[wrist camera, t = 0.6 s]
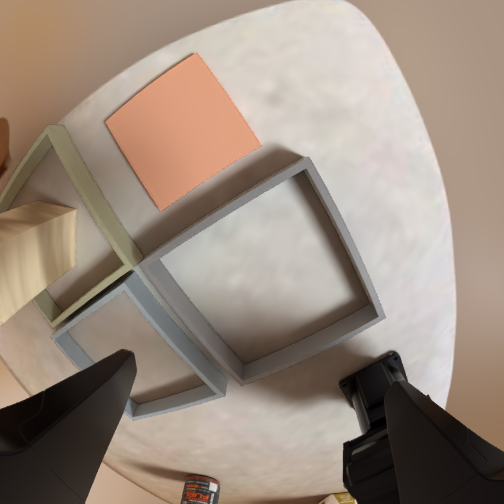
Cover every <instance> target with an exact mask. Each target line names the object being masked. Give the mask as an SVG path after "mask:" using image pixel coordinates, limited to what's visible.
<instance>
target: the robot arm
mask: <svg viewBox="0 0 504 504" xmlns="http://www.w3.org/2000/svg"><path fill="white" fill-rule="evenodd" d="M136 373H137V367H136V361H135V355H134V353H133V352H132V351H129V350H125V349H121V350H119V351H117V352H115V353H113V354H112V355H110V356H108V357H106V358H104V359H102V360H100V361H99V362H97V363H95V364H93V365H91V366H89V367H87V368H86V369H84V370H82V371H80V372H78V373H76V374H74V375H72V376H70V377H68V378H67V379H65V380H63V381H61V382H59V383H57V384H55V385H53V386H51V387H49V388H47V389H45V391H41V392H39V393H37V394H36V395H33V396H31V397H29V398H27V399H25V400H23V401H20V402H18V403H15V404H13V405H10V406H7V407H4V408H1V409H0V504H85V501H86V499H87V497H88V494H89V492H90V489H91V486H92V484H93V482H94V479H95V477H96V474H97V472H98V469H99V467H100V465H101V462H102V460H103V458H104V455H105V453H106V451H107V448H108V446H109V444H110V442H111V439H112V437H113V435H114V433H115V430H116V428H117V426H118V424H119V422H120V419H121V417H122V415H123V413H124V410H125V407H126V404H127V401H128V398H129V395H130V392H131V389H132V386H133V383H134V380H135V377H136ZM339 386H340V389H341V390H342V392H343V393H344V395H345V396H346V398H347V399H348V401H349V402H350V404H351V405H352V407H353V408H354V410H355V411H356V415H357V418H358V422H359V425H360V428H361V432H362V435H361V436H359V437H357V438H355V439H353V440H351V441H347V442H345V443H343V483H344V487H345V488H346V489H347V490H348V492H349V494H350V495H351V496H352V497H353V498H354V499H356V502H357V504H504V452H503V451H502V450H500V449H498V448H497V447H495V446H493V445H492V444H490V443H488V442H487V441H485V440H484V439H482V438H481V437H480V436H478V435H477V434H475V433H474V432H473V431H471V430H470V429H469V428H468V429H467V427H466V426H465V425H463V424H462V423H461V422H460V421H458V420H457V419H455V418H454V417H453V416H452V415H450V414H449V413H447V412H446V411H445V410H444V409H442V408H441V407H440V406H439V405H437V404H436V403H435V402H433V401H432V400H431V398H430V396H429V395H427V396H425V395H424V394H423V393H422V392H420V391H419V390H418V389H416V388H415V387H414V386H412V385H411V384H410V383H409V382H408V380H407V377H406V373H405V370H404V367H403V364H402V361H401V358H400V355H399V354H398V353H397V352H395V353H393V354H391V355H389V356H388V357H386V358H384V359H382V360H380V361H378V362H377V363H375V364H373V365H371V366H369V367H367V368H365V369H363V370H361V371H359V372H357V373H355V374H353V375H351V376H349V377H347V378H345V379H343V380H341V381H340V382H339Z"/></svg>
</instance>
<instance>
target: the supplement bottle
mask: <svg viewBox="0 0 504 504" xmlns="http://www.w3.org/2000/svg"><path fill="white" fill-rule="evenodd" d="M219 492H220V483H219V482H218V481H217V480H215V479H213V478H210V477H206V476H200V475H192V476H188V477H187V478H186V481H185V485H184V490H183V495H182V499H181V504H218V499H219Z"/></svg>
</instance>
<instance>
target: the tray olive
mask: <svg viewBox="0 0 504 504" xmlns="http://www.w3.org/2000/svg"><path fill="white" fill-rule="evenodd" d="M52 145H53V147H54V149H55V151H56V153H57V155H58V157H59V159H60V161H61V163H62V165H63V167H64V168H65V170H66V172H67V174H68V176H69V178H70V179H71V181H72V183H73V185H74V187H75V188H76V190H77V192H78V194H79V195H80V197H81V199H82V200H83V202H84V204H85V205H86V207H87V209H88V210H89V212H90V214H91V215H92V217H93V218H94V220H95V222H96V223H97V225H98V226H99V228H100V229H101V231H102V233H103V234H104V236H105V237H106V239H107V240H108V242H109V243H110V245H111V246H112V248H113V249H114V250H115V252H116V253H117V255H118V256H119V258H120V259H121V260H122V262H123V263H124V264H123V265H122V266H120V267H119V268H118V269H116V270H115V271H114V272H112V273H111V274H110V275H108V276H107V277H106V278H104V279H103V280H102V281H101V282H99V283H98V284H97V285H95V286H94V287H93V288H92V289H90V290H89V291H88V292H87V293H85V294H84V295H83V296H82V297H80V298H79V299H78V300H77V301H75V302H74V303H73V304H72V305H70V306H69V307H68V308H67V309H66V310H64V311H63V312H61V311H60V309H59V308H58V307H57V305H56V304H55V303H54V301H53V300H52V298H51V297H50V296H49V294H48V293H47V291H46V290H45V289H44V290H43V291H41V292H40V293H39V294H38V295H36V296H35V297H34V298H33V299H31V300H32V301H33V303H34V304H35V305H36V307H37V308H38V310H39V311H40V313H41V314H42V315H43V317H44V318H45V319H46V321H47V322H48V323H49V325H50V326H51V327H52V329H53V328H54V327H55V326H56V325H58V324H59V323H60V322H61V321H63V320H64V319H65V318H66V317H68V316H69V315H70V314H72V313H73V312H74V311H75V310H77V309H78V308H79V307H81V306H82V305H83V304H85V303H86V302H87V301H88V300H90V299H91V298H92V297H94V296H95V295H96V294H98V293H99V292H100V291H102V290H103V289H104V288H106V287H107V286H109V285H110V284H111V283H113V282H114V281H115V280H117V279H118V278H119V277H121V276H122V275H124V274H125V273H126V272H128V271H129V270H131V269H132V268H133V267H134V266H136V265H137V264H138V263H139V262H140V261H141V260H142V259H143V258H144V256H143V255H142V254H141V252H140V251H139V249H138V248H137V246H136V245H135V243H134V242H133V241H132V239H131V238H130V236H129V235H128V233H127V232H126V230H125V229H124V227H123V226H122V224H121V223H120V221H119V220H118V218H117V217H116V215H115V213H114V212H113V210H112V209H111V207H110V206H109V204H108V202H107V201H106V199H105V198H104V196H103V194H102V193H101V191H100V189H99V188H98V186H97V184H96V183H95V181H94V179H93V178H92V176H91V174H90V172H89V171H88V169H87V167H86V165H85V164H84V162H83V160H82V158H81V156H80V155H79V153H78V151H77V149H76V147H75V145H74V144H73V142H72V140H71V138H70V136H69V134H68V132H67V130H66V128H65V126H64V125H48V126H47V127H46V128H45V130H44V131H43V132H42V134H41V135H40V136H39V138H38V139H37V140H36V141H35V143H34V144H33V146H32V147H31V148H30V150H29V151H28V153H27V154H26V155H25V157H24V158H23V160H22V161H21V163H20V164H19V166H18V167H17V169H16V170H15V172H14V174H13V175H12V177H11V179H10V180H9V182H8V184H7V185H6V187H5V189H4V190H3V192H2V194H1V196H0V214H1V213H3V212H6V211H7V210H8V208H9V207H10V205H11V203H12V202H13V200H14V198H15V197H16V195H17V194H18V192H19V191H20V189H21V188H22V186H23V185H24V183H25V182H26V180H27V179H28V177H29V176H30V174H31V173H32V172H33V170H34V169H35V167H36V166H37V165H38V163H39V162H40V161H41V159H42V158H43V157H44V155H45V154H46V153H47V152H48V150H49V149H50V148H51V147H52Z"/></svg>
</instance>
